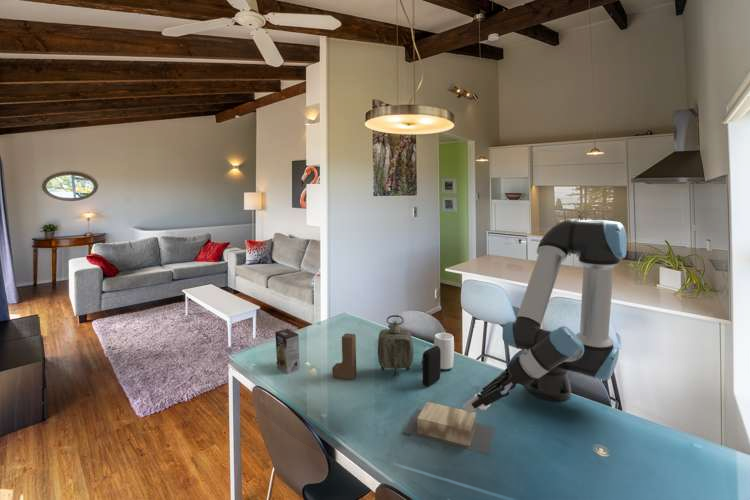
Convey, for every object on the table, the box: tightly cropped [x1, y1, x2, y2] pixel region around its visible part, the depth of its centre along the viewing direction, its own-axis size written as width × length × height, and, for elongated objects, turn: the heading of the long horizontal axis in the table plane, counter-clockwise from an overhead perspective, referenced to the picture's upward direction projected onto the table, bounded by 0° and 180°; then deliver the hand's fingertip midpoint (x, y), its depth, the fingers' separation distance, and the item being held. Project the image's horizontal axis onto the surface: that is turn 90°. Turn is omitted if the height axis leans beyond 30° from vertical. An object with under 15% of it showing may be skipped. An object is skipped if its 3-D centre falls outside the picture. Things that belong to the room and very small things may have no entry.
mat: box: [402, 408, 496, 456], centre depth 121 cm, size 26×14×1 cm, turn 65°
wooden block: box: [331, 332, 357, 381], centre depth 157 cm, size 9×4×18 cm, turn 72°
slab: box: [417, 401, 477, 446], centre depth 121 cm, size 5×10×16 cm
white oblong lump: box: [473, 387, 492, 411], centre depth 137 cm, size 12×6×6 cm, turn 162°
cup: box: [433, 332, 455, 370], centre depth 164 cm, size 8×8×14 cm
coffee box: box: [274, 328, 301, 375], centre depth 165 cm, size 9×6×16 cm
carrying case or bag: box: [421, 345, 441, 388], centre depth 150 cm, size 11×3×15 cm, turn 134°
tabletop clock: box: [377, 314, 414, 377], centre depth 158 cm, size 14×9×25 cm, turn 88°
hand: (466, 409), depth 117 cm, fingers closed
